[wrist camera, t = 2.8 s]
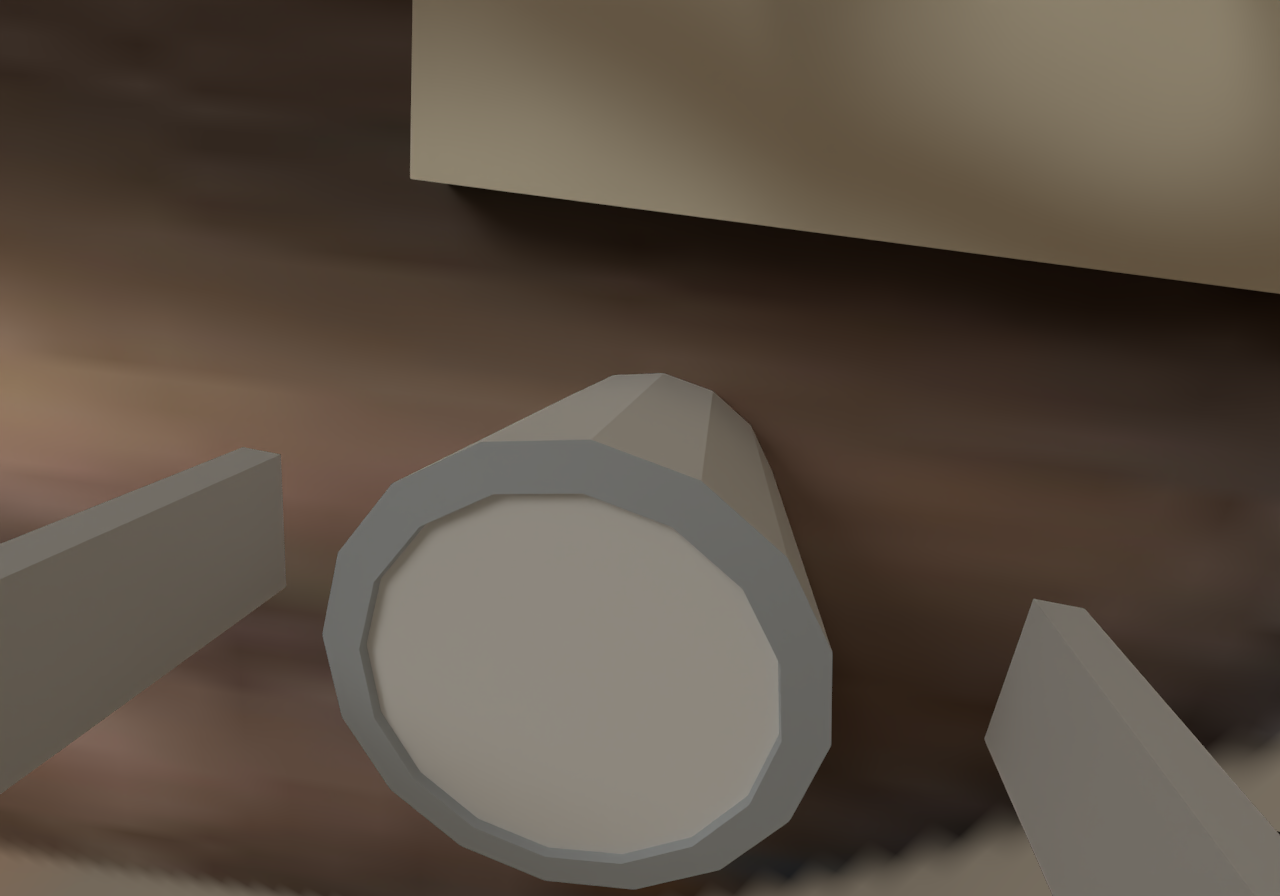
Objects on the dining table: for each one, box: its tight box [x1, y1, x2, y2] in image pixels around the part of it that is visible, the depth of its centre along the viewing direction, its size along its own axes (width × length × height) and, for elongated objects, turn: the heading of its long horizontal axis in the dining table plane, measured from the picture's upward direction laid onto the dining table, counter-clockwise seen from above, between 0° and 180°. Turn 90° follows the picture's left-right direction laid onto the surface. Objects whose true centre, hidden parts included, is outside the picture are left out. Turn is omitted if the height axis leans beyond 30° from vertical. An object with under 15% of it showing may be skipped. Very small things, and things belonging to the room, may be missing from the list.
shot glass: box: [322, 373, 832, 890], centre depth 12 cm, size 7×7×7 cm
